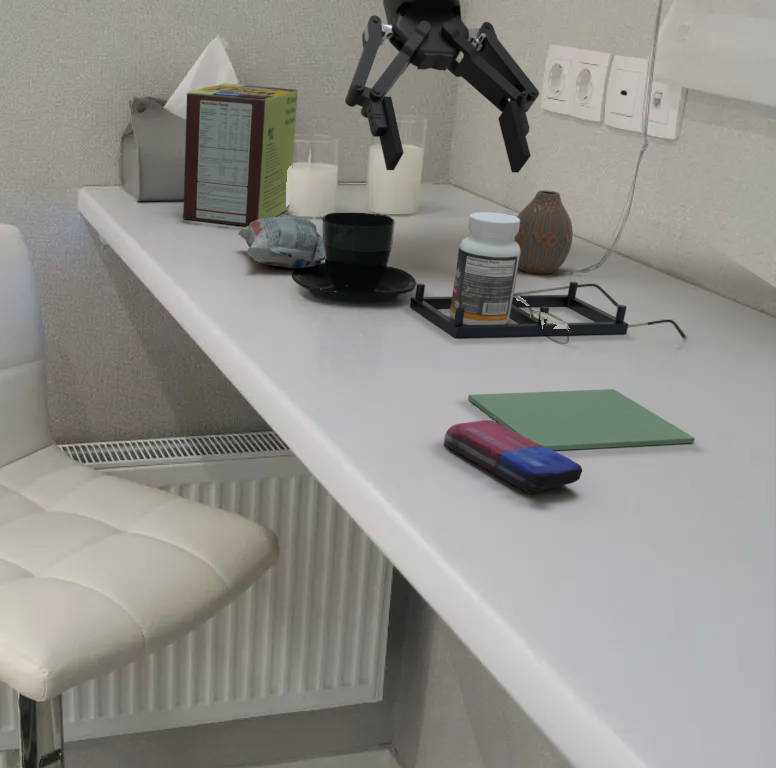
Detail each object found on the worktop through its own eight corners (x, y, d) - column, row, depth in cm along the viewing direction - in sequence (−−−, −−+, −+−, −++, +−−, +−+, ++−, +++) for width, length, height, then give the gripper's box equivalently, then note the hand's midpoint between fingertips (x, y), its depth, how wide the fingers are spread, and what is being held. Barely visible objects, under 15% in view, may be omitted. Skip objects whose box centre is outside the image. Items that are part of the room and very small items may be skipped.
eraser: (434, 442, 83) (436, 418, 82) (480, 435, 85) (483, 412, 84) (535, 500, 74) (540, 474, 73) (585, 492, 75) (590, 466, 75)
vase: (500, 261, 138) (512, 185, 134) (559, 265, 138) (572, 188, 134) (510, 275, 132) (523, 195, 128) (572, 279, 132) (586, 199, 128)
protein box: (290, 209, 161) (299, 88, 154) (258, 228, 147) (266, 97, 141) (218, 200, 163) (223, 82, 156) (180, 219, 150) (184, 90, 143)
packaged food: (245, 274, 125) (249, 227, 123) (237, 249, 135) (240, 206, 133) (326, 278, 126) (331, 232, 124) (311, 253, 136) (315, 210, 134)
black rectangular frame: (569, 304, 121) (573, 280, 120) (626, 333, 112) (632, 308, 111) (409, 306, 117) (412, 282, 116) (455, 338, 107) (459, 311, 106)
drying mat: (612, 393, 95) (613, 388, 95) (694, 443, 86) (695, 438, 86) (467, 399, 92) (468, 394, 92) (535, 451, 82) (536, 446, 82)
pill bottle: (455, 309, 117) (469, 208, 112) (512, 318, 115) (529, 215, 110) (444, 323, 112) (458, 218, 107) (504, 332, 110) (521, 225, 106)
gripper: (510, 21, 128) (553, 187, 122) (293, 9, 121) (328, 184, 115) (542, -31, 121) (590, 141, 115) (314, -47, 114) (352, 135, 108)
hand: (459, 163), depth 115 cm, fingers open, 13 cm apart
